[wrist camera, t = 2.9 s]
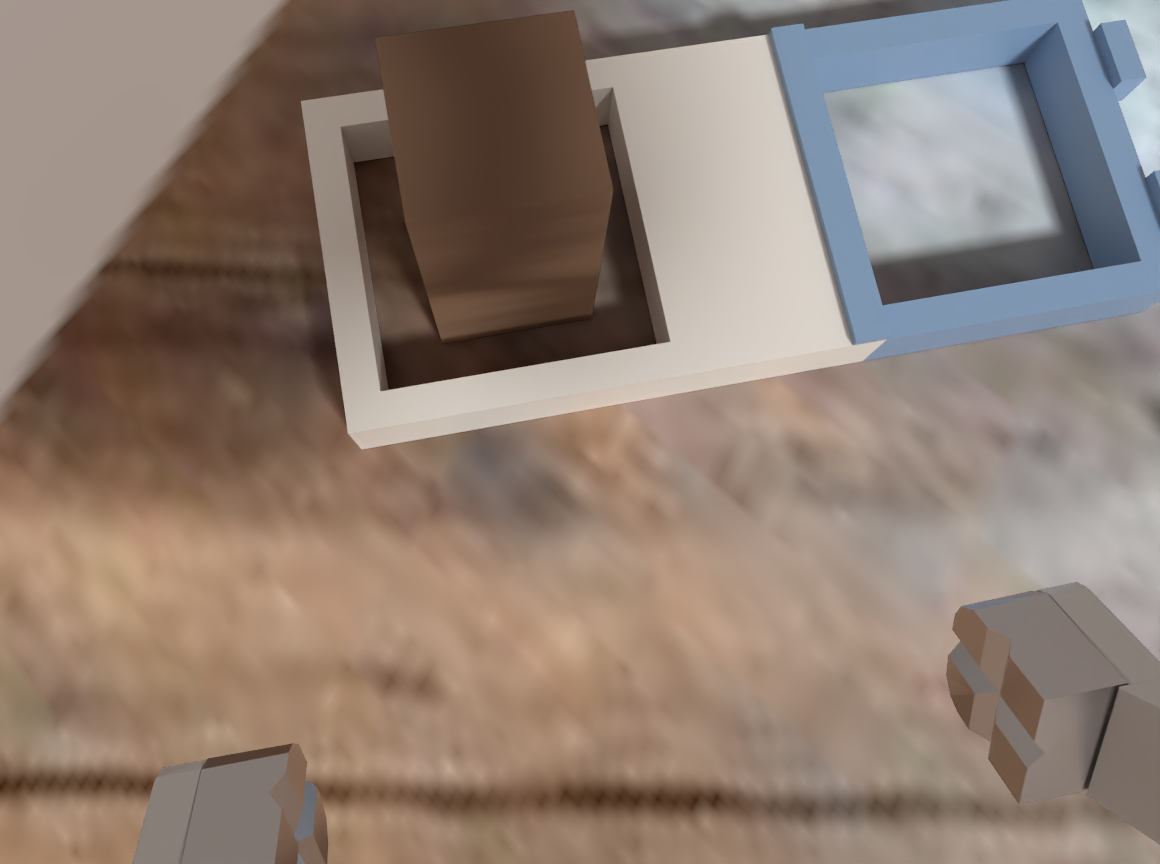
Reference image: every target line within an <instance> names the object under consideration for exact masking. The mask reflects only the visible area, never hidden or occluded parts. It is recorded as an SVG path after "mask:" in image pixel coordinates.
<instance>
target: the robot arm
mask: <svg viewBox="0 0 1160 864" xmlns="http://www.w3.org/2000/svg"><path fill="white" fill-rule="evenodd" d="M952 630H953V631H954V632H955V634H956V635H957V637H958V638H959V639H960V643H959V644H958V645H957V646H956V647H955V648H954V649H953V650H952V652H951V653H950V654H949V655H948V663H947V672H946V676H947V681H948V686H949V691H950V695H951V698H952V700H953V703H954V705H955V707H956V709H957V712H958V713H959V715H960V717H961V718H962V720H963V721H964V723H965V724H966V726H967V727H968V729H969V730H971V731H973V732H975V733H976V734H978V735H980V736H982V737H983V738H985V739H987V740H989V741H990V748H989V756H988V759H989V761H990V762H991V764H992V765H993V767H994V768H995V770H996V771H997V773H998V774H999V776H1000V777H1001V779H1002V780H1003V781H1004V783H1005V784H1006V786H1007V787H1008V789H1009V790H1010V792H1011V793H1012V795H1013V796H1014V798H1015V799H1016V801H1017V802H1018V804H1024V803H1029V802H1034V801H1039V800H1044V799H1049V798H1055V797H1060V796H1065V795H1070V794H1075V793H1080V792H1085V791H1087V794H1086V795H1087V796H1089V797H1090V798H1092V799H1093V800H1095V801H1096V802H1097V803H1099V804H1100V805H1102V806H1103V807H1105V808H1106V809H1108V810H1109V811H1111V812H1112V813H1114V814H1115V815H1117V816H1118V817H1120V818H1121V819H1123V820H1124V821H1126V822H1127V823H1129V824H1130V825H1132V826H1133V827H1135V828H1136V829H1137V830H1139V831H1140V832H1142V833H1143V834H1145V835H1146V836H1148V837H1149V838H1151V839H1152V840H1154V841H1155V842H1157V843H1158V844H1160V661H1159V660H1158V659H1157V658H1156V657H1155V656H1154V655H1153V654H1152V653H1151V652H1150V651H1149V650H1148V649H1147V648H1146V647H1145V646H1144V645H1143V644H1142V643H1141V642H1140V641H1139V640H1138V639H1137V638H1136V637H1135V636H1134V635H1133V634H1132V633H1131V632H1130V631H1129V630H1128V629H1127V627H1126V626H1125V625H1124V624H1123V623H1122V622H1121V621H1120V620H1119V619H1118V618H1117V617H1116V616H1115V615H1114V614H1113V613H1112V612H1111V611H1110V610H1109V609H1108V608H1107V607H1106V606H1105V605H1104V604H1103V603H1102V602H1101V601H1100V600H1099V599H1098V598H1097V597H1096V596H1095V595H1094V594H1093V593H1092V591H1091V590H1090V589H1088V588H1087V587H1086V586H1084V585H1082V584H1080V583H1078V582H1075V583H1070V584H1065V585H1060V586H1055V587H1051V588H1046V589H1041V590H1038V591H1029V592H1025V593H1020V594H1016V595H1011V596H1006V597H1002V598H997V599H992V600H988V601H983V602H979V603H974V604H969V605H965V606H961V607H960V608H959V610H958V611H957V612H956V614H955V617H954V623H953V629H952ZM306 767H307V761H306V759H305V757H304V755H303V752H302V750H301V748H300V746H299V744H287V745H282V746H276V747H270V748H265V749H259V750H253V751H248V752H242V753H237V754H231V755H225V756H220V757H214V758H208V759H206V760H200V761H195V762H190V763H184V764H179V765H173V766H168V767H163V769H162V770H161V772H160V773H159V775H158V777H157V778H156V780H155V781H154V785H153V788H152V792H151V796H150V800H149V803H148V807H147V811H146V814H145V818H144V822H143V826H142V829H141V833H140V837H139V840H138V844H137V848H136V852H135V855H134V859H133V863H132V864H327V856H328V836H327V822H326V815H325V811H324V807H323V802H322V799H321V796H320V794H319V791H318V788H317V787H316V786H315V785H313V784H311V783H309V782H307V781H305V778H306Z"/></svg>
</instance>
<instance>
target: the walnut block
mask: <svg viewBox="0 0 1160 864" xmlns="http://www.w3.org/2000/svg"><path fill="white" fill-rule="evenodd" d="M375 43H376V49H377V55H378V61H379V67H380V73H381V79H382V85H383V91H384V97H385V104H386V110H387V116H388V122H389V128H390V134H391V140H392V146H393V152H394V158H395V164H396V170H397V176H398V182H399V189H400V195H401V201H402V207H403V213H404V219H405V224H406V227H407V230H408V234H409V237H410V240H411V243H412V246H413V250H414V253H415V256H416V259H417V263H418V266H419V269H420V272H421V276H422V279H423V282H424V285H425V289H426V292H427V295H428V298H429V302H430V305H431V308H432V311H433V315H434V318H435V321H436V324H437V328H438V331H439V334H440V337H441V341H442V344H445V343H451V342H457V341H462V340H468V339H474V338H480V337H486V336H492V335H498V334H504V333H510V332H516V331H522V330H528V329H534V328H540V327H546V326H552V325H558V324H564V323H570V322H576V321H582V320H588V319H592V314H593V308H594V302H595V297H596V291H597V285H598V279H599V273H600V267H601V261H602V255H603V249H604V243H605V238H606V232H607V226H608V220H609V214H610V208H611V202H612V196H613V185H612V180H611V176H610V171H609V167H608V162H607V158H606V153H605V149H604V144H603V140H602V135H601V130H600V126H599V121H598V117H597V112H596V108H595V103H594V99H593V94H592V90H591V85H590V80H589V76H588V71H587V67H586V62H585V58H584V53H583V49H582V44H581V40H580V35H579V30H578V26H577V21H576V17H575V12H574V10H572V11H565V12H558V13H550V14H543V15H536V16H528V17H521V18H514V19H507V20H499V21H492V22H485V23H478V24H470V25H463V26H456V27H449V28H441V29H434V30H427V31H420V32H412V33H405V34H398V35H390V36H383V37H376V38H375Z"/></svg>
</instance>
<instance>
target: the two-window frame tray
mask: <svg viewBox="0 0 1160 864" xmlns="http://www.w3.org/2000/svg"><path fill="white" fill-rule="evenodd" d="M585 62H586V67H587V71H588V76H589V80H590V85H591V90H592V94H593V99H594V103H595V108H596V112H597V117H598V121H599V126H602V125H608V127H609V132H610V136H611V141H612V145H613V150H614V154H615V159H616V163H617V168H618V172H619V177H620V181H621V186H622V190H623V195H624V199H625V204H626V208H627V213H628V217H629V222H630V226H631V231H632V235H633V240H634V244H635V249H636V253H637V258H638V262H639V267H640V271H641V276H642V280H643V285H644V289H645V294H646V298H647V303H648V307H649V312H650V316H651V321H652V325H653V330H654V334H655V339H656V343H657V344H654V345H648V346H643V347H637V348H631V349H625V350H619V351H613V352H608V353H602V354H596V355H590V356H584V357H578V358H572V359H567V360H561V361H555V362H549V363H543V364H537V365H532V366H526V367H520V368H514V369H508V370H502V371H497V372H491V373H485V374H479V375H473V376H467V377H462V378H456V379H450V380H444V381H438V382H432V383H427V384H421V385H415V386H409V387H403V388H397V389H392V390H389V389H388V382H387V376H386V369H385V363H384V356H383V350H382V343H381V337H380V330H379V324H378V317H377V311H376V304H375V298H374V291H373V285H372V278H371V272H370V265H369V259H368V252H367V246H366V239H365V233H364V226H363V220H362V213H361V207H360V200H359V194H358V187H357V181H356V174H355V168H354V162H360V161H367V160H374V159H380V158H387V157H394V152H393V146H392V140H391V134H390V128H389V122H388V116H387V110H386V104H385V97H384V91H383V89H382V90H375V91H368V92H361V93H354V94H347V95H340V96H333V97H326V98H319V99H311V100H304V101H301V106H302V113H303V120H304V127H305V134H306V141H307V148H308V155H309V162H310V169H311V176H312V183H313V190H314V197H315V204H316V212H317V219H318V226H319V233H320V240H321V247H322V254H323V261H324V268H325V275H326V282H327V289H328V296H329V303H330V310H331V317H332V324H333V331H334V338H335V345H336V352H337V359H338V366H339V373H340V380H341V387H342V394H343V401H344V408H345V416H346V423H347V430H348V434H349V435H350V436H351V438H352V439H353V440H354V441H355V442H356V443H357V444H358V446H359V447H360V448H361V449H368V448H373V447H379V446H385V445H390V444H396V443H402V442H407V441H413V440H419V439H424V438H430V437H436V436H441V435H447V434H453V433H458V432H464V431H470V430H475V429H481V428H487V427H492V426H498V425H504V424H509V423H515V422H521V421H526V420H532V419H538V418H543V417H549V416H555V415H560V414H566V413H572V412H577V411H583V410H589V409H594V408H600V407H605V406H611V405H617V404H622V403H628V402H634V401H639V400H645V399H651V398H656V397H662V396H668V395H673V394H679V393H685V392H690V391H696V390H702V389H707V388H713V387H719V386H724V385H730V384H736V383H741V382H747V381H753V380H758V379H764V378H770V377H775V376H781V375H787V374H792V373H798V372H804V371H809V370H815V369H821V368H826V367H832V366H838V365H843V364H849V363H855V362H860V361H866V360H872V359H877V358H883V357H889V356H894V355H900V354H906V353H911V352H917V351H923V350H928V349H934V348H940V347H945V346H951V345H957V344H962V343H968V342H974V341H979V340H985V339H991V338H996V337H1002V336H1008V335H1013V334H1019V333H1025V332H1030V331H1036V330H1042V329H1047V328H1053V327H1059V326H1064V325H1070V324H1076V323H1081V322H1087V321H1093V320H1098V319H1104V318H1110V317H1115V316H1121V315H1127V314H1132V313H1138V312H1141V311H1143V310H1145V309H1147V308H1149V307H1150V306H1152V305H1154V304H1156V303H1158V302H1159V301H1160V170H1159V171H1154V172H1153V173H1151V174H1150V175H1149V176H1148V177H1146V178H1145V175H1144V173H1143V170H1142V167H1141V164H1140V161H1139V159H1138V156H1137V153H1136V150H1135V148H1134V145H1133V142H1132V139H1131V136H1130V134H1129V131H1128V128H1127V125H1126V122H1125V120H1124V117H1123V114H1122V111H1121V108H1120V106H1119V103H1118V101H1122V100H1123V99H1124V98H1125V97H1126V96H1127V95H1128V94H1129V93H1130V92H1131V91H1133V90H1134V89H1135V88H1136V87H1137V86H1138V85H1139V84H1140V83H1141V82H1142V81H1143V80H1144V79H1145V78H1146V75H1145V72H1144V69H1143V66H1142V64H1141V61H1140V58H1139V56H1138V53H1137V50H1136V47H1135V45H1134V42H1133V39H1132V37H1131V34H1130V31H1129V28H1128V26H1127V23H1126V20H1121V21H1114V22H1107V23H1101V24H1100V25H1099V26H1098V27H1097V28H1096V29H1095V30H1094V32H1093V30H1092V28H1091V25H1090V22H1089V19H1088V16H1087V14H1086V11H1085V8H1084V5H1083V3H1082V0H1007V1H1000V2H993V3H986V4H979V5H971V6H964V7H957V8H950V9H943V10H936V11H929V12H922V13H915V14H908V15H901V16H894V17H887V18H880V19H873V20H866V21H859V22H852V23H845V24H838V25H831V26H824V27H817V28H810V29H805V28H804V24H803V23H802V24H795V25H788V26H781V27H774V28H771V29H770V32H769V34H768V35H761V36H754V37H747V38H740V39H733V40H726V41H719V42H712V43H705V44H698V45H691V46H684V47H677V48H670V49H663V50H656V51H649V52H641V53H634V54H627V55H620V56H613V57H606V58H599V59H592V60H585ZM1018 63H1025V66H1026V69H1027V72H1028V75H1029V78H1030V81H1031V84H1032V87H1033V90H1034V93H1035V96H1036V99H1037V102H1038V105H1039V108H1040V111H1041V114H1042V117H1043V120H1044V123H1045V126H1046V129H1047V132H1048V135H1049V137H1050V140H1051V143H1052V146H1053V149H1054V152H1055V155H1056V158H1057V161H1058V164H1059V167H1060V170H1061V173H1062V176H1063V179H1064V182H1065V185H1066V188H1067V191H1068V194H1069V197H1070V200H1071V203H1072V206H1073V209H1074V212H1075V215H1076V218H1077V220H1078V223H1079V226H1080V229H1081V232H1082V235H1083V238H1084V241H1085V244H1086V247H1087V250H1088V253H1089V256H1090V259H1091V262H1092V265H1093V268H1094V269H1092V270H1086V271H1080V272H1075V273H1069V274H1063V275H1057V276H1051V277H1045V278H1040V279H1034V280H1028V281H1022V282H1016V283H1010V284H1005V285H999V286H993V287H987V288H981V289H975V290H969V291H964V292H958V293H952V294H946V295H940V296H934V297H929V298H923V299H917V300H911V301H905V302H899V303H894V304H888V305H882V302H881V298H880V295H879V291H878V287H877V284H876V280H875V277H874V273H873V270H872V266H871V263H870V259H869V255H868V252H867V248H866V245H865V241H864V238H863V234H862V231H861V227H860V223H859V220H858V216H857V213H856V209H855V206H854V202H853V199H852V195H851V191H850V188H849V184H848V181H847V177H846V174H845V170H844V167H843V163H842V159H841V156H840V152H839V149H838V145H837V142H836V138H835V135H834V131H833V127H832V124H831V120H830V117H829V113H828V110H827V106H826V102H825V99H824V95H823V92H830V91H837V90H843V89H850V88H857V87H864V86H870V85H877V84H884V83H890V82H897V81H904V80H911V79H917V78H924V77H931V76H937V75H944V74H951V73H958V72H964V71H971V70H978V69H984V68H991V67H998V66H1005V65H1011V64H1018Z"/></svg>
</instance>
